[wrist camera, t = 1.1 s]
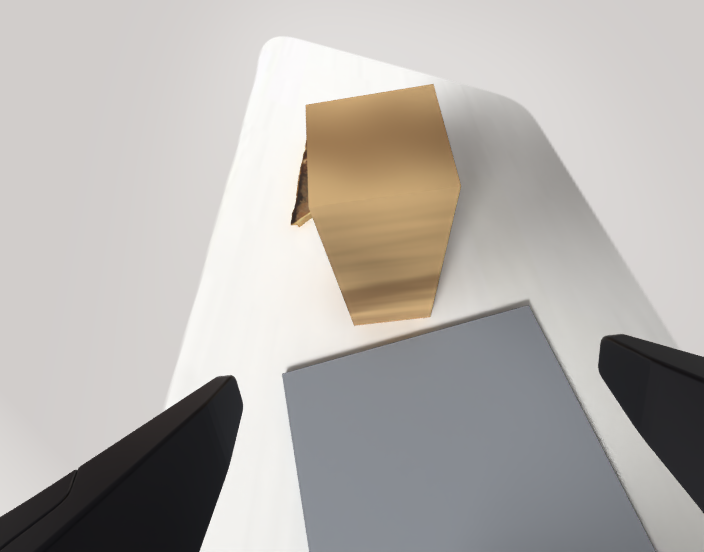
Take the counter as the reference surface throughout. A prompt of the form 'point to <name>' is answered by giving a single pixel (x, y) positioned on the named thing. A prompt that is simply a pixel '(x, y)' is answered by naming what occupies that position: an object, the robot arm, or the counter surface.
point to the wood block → (382, 198)
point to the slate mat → (454, 448)
